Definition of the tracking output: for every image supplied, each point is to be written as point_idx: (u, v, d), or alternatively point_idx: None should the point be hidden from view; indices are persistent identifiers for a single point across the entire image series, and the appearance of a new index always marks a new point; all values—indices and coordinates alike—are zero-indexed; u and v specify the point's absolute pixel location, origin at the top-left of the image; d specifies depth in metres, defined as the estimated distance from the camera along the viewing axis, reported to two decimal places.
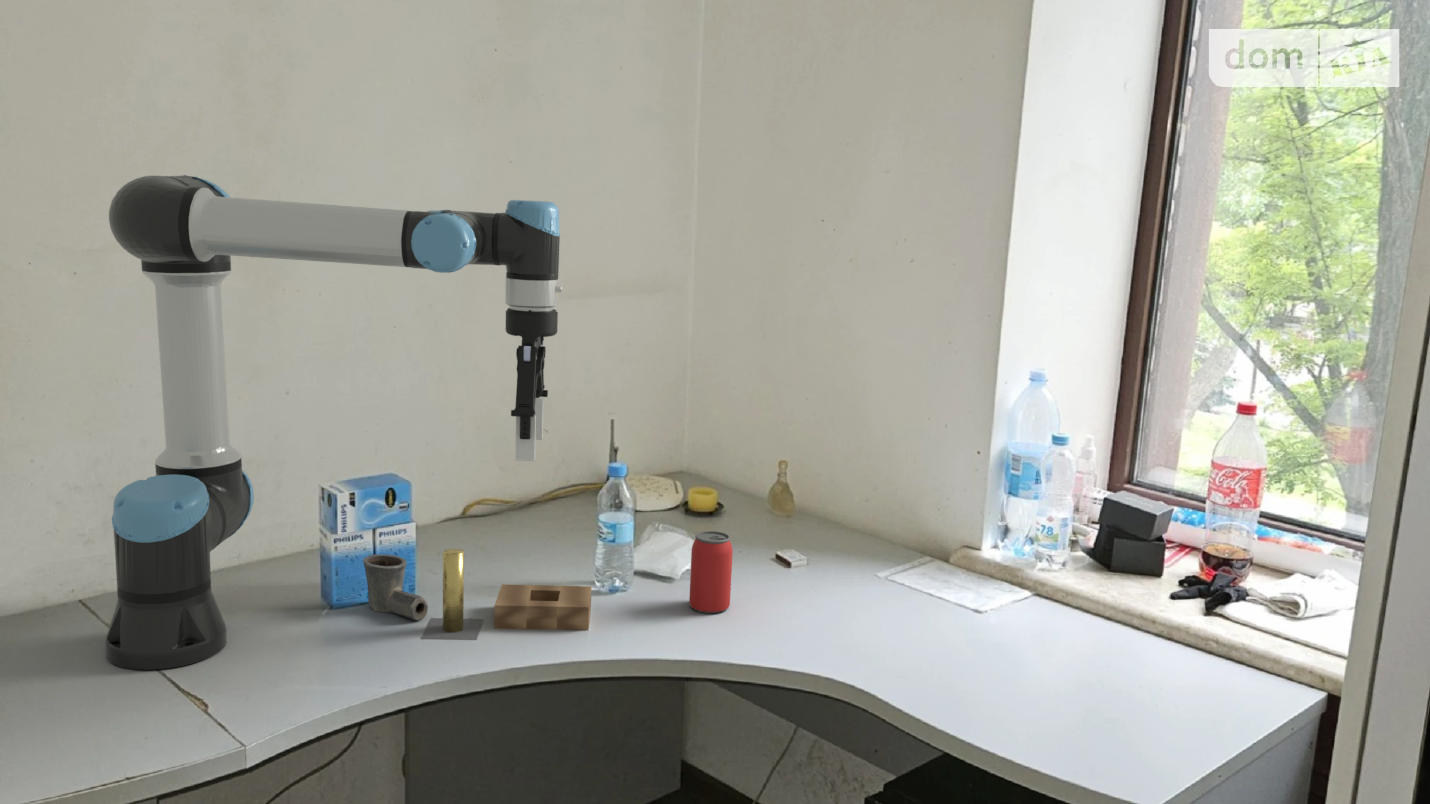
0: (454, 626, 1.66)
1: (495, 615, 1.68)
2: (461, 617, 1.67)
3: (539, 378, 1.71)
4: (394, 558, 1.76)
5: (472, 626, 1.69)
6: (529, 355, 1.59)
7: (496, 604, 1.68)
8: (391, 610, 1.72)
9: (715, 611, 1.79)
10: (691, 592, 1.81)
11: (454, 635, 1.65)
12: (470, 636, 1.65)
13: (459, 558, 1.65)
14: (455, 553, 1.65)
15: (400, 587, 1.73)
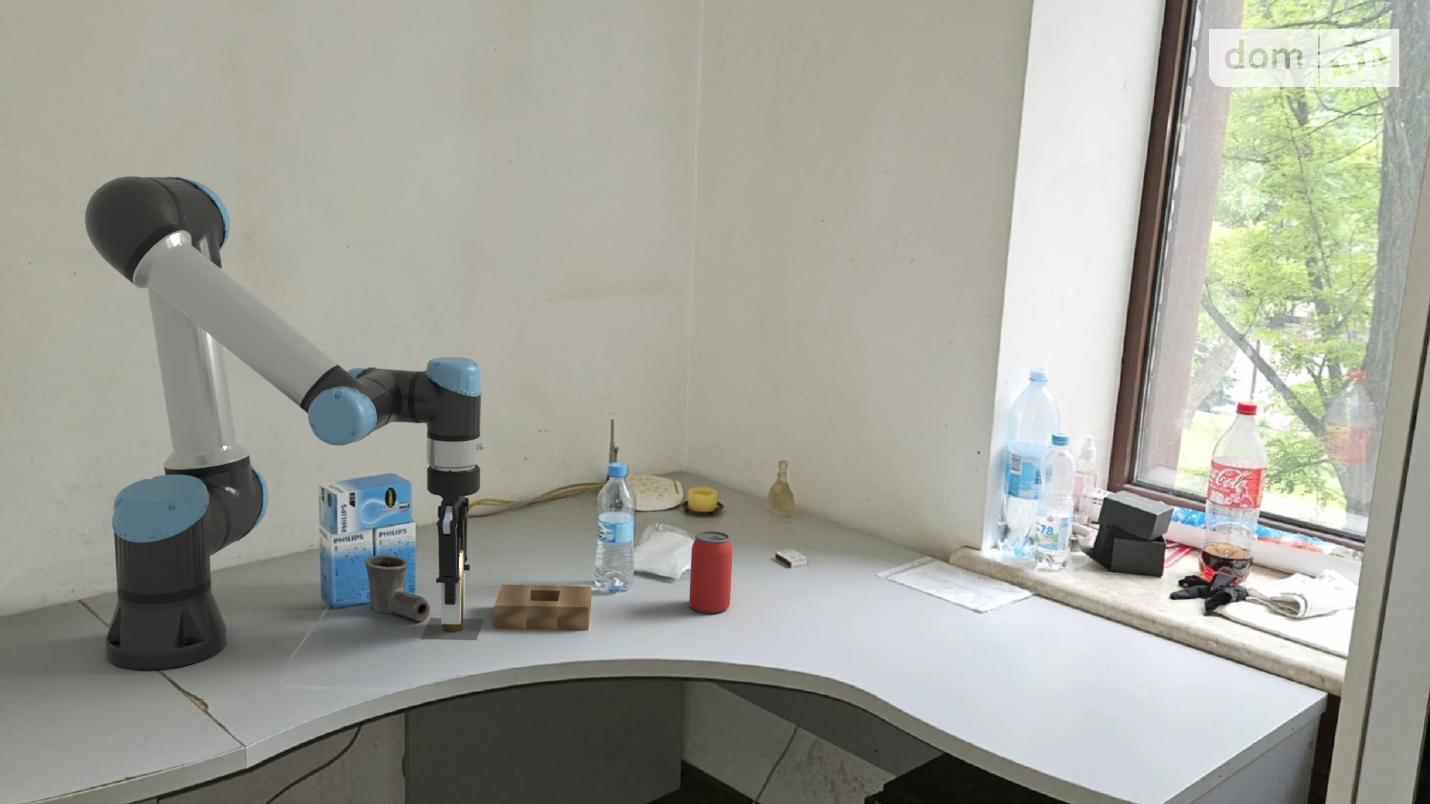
0: (454, 626, 1.66)
1: (495, 615, 1.68)
2: (461, 617, 1.67)
3: (461, 542, 1.67)
4: (396, 559, 1.76)
5: (472, 626, 1.69)
6: (449, 530, 1.59)
7: (496, 604, 1.68)
8: (393, 611, 1.72)
9: (715, 611, 1.79)
10: (691, 592, 1.81)
11: (454, 635, 1.65)
12: (470, 636, 1.65)
13: None
14: None
15: (402, 588, 1.73)
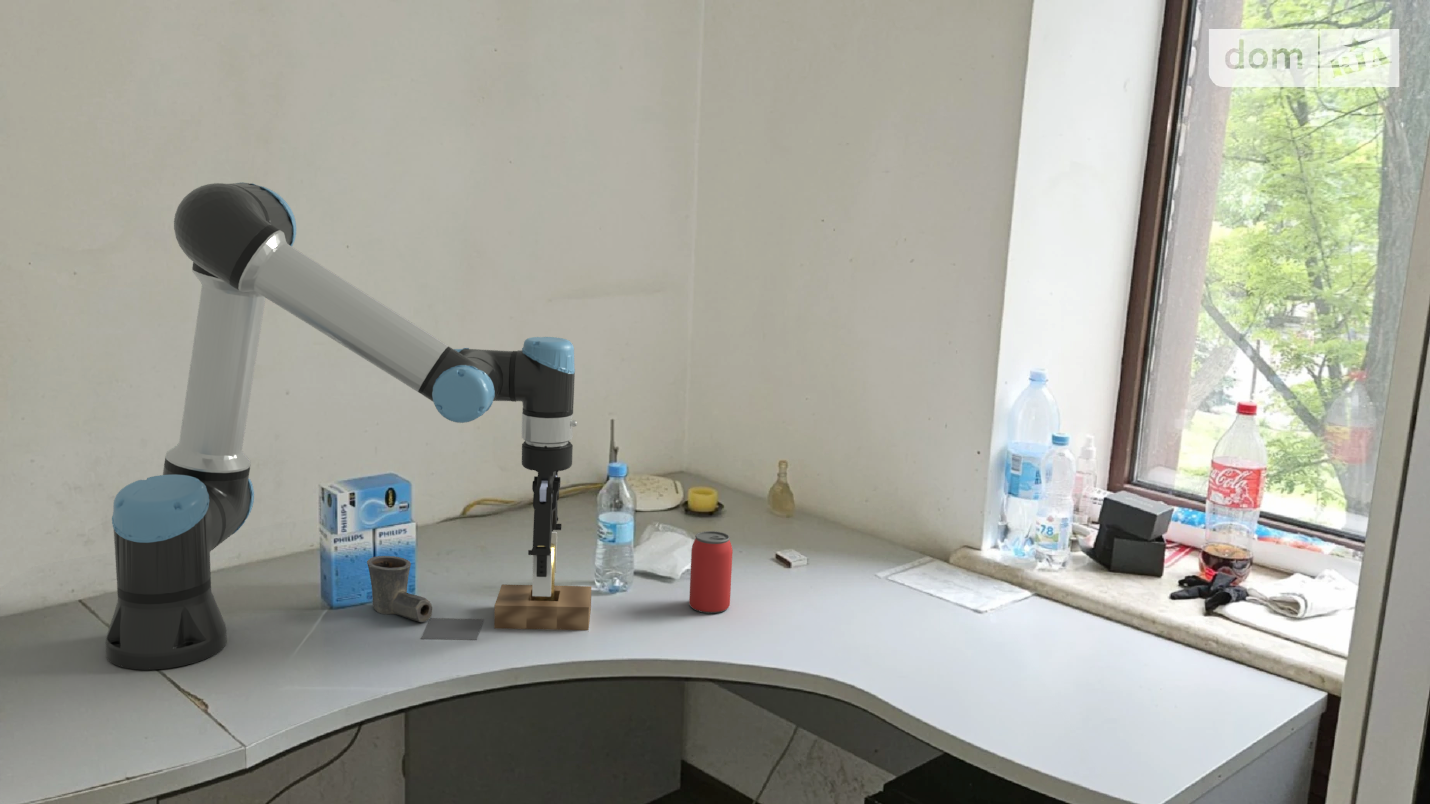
0: None
1: (495, 615, 1.68)
2: None
3: (553, 510, 1.74)
4: (398, 560, 1.75)
5: (472, 626, 1.69)
6: (545, 496, 1.63)
7: (496, 604, 1.68)
8: (395, 612, 1.71)
9: (715, 611, 1.79)
10: (691, 592, 1.81)
11: (454, 635, 1.65)
12: (470, 636, 1.65)
13: (551, 552, 1.71)
14: None
15: (404, 589, 1.73)
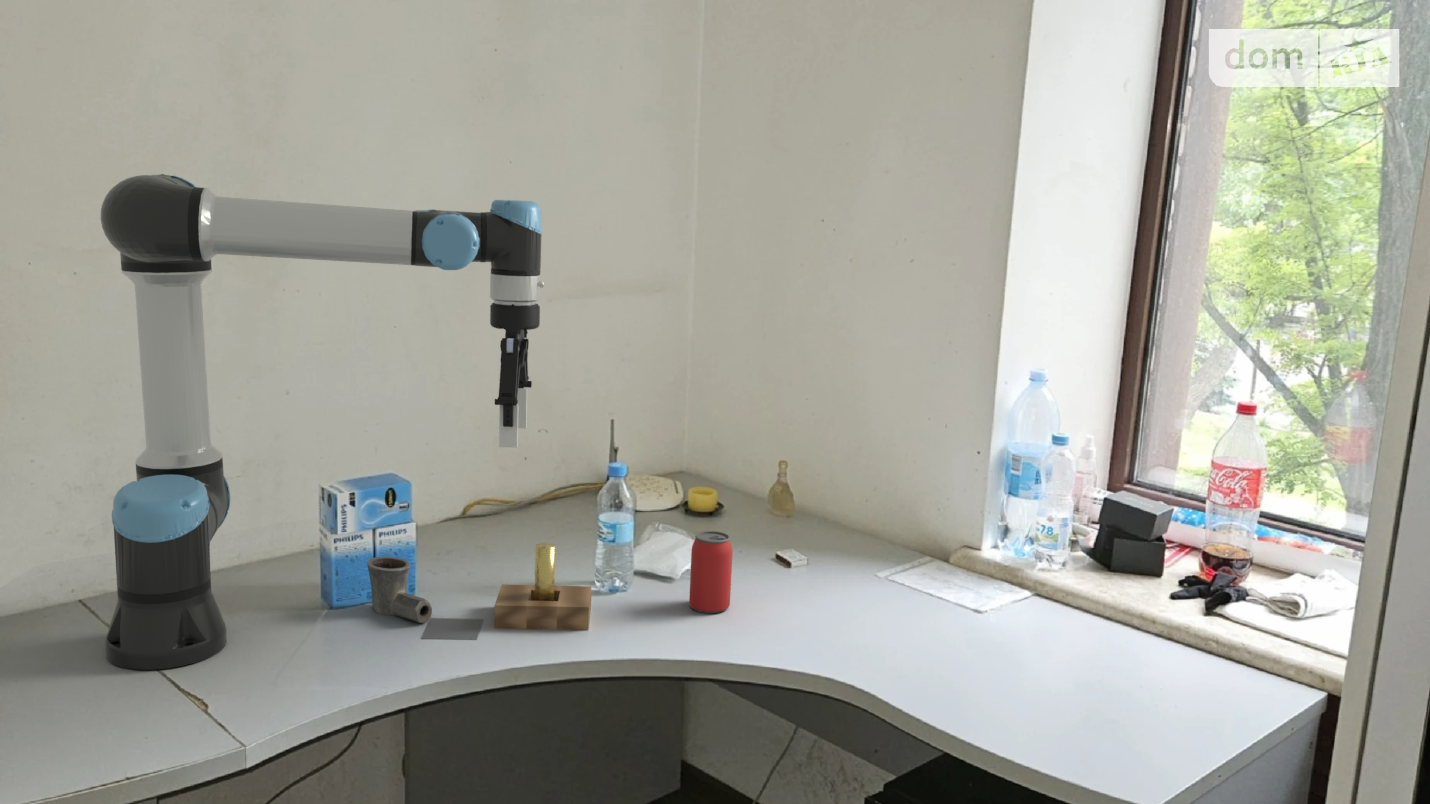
0: None
1: (495, 615, 1.68)
2: None
3: (523, 369, 1.80)
4: (398, 560, 1.75)
5: (472, 626, 1.69)
6: (512, 347, 1.68)
7: (496, 604, 1.68)
8: (395, 613, 1.71)
9: (715, 611, 1.79)
10: (691, 592, 1.81)
11: (454, 635, 1.65)
12: (470, 636, 1.65)
13: (551, 552, 1.71)
14: (547, 547, 1.71)
15: (404, 590, 1.72)
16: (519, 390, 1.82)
